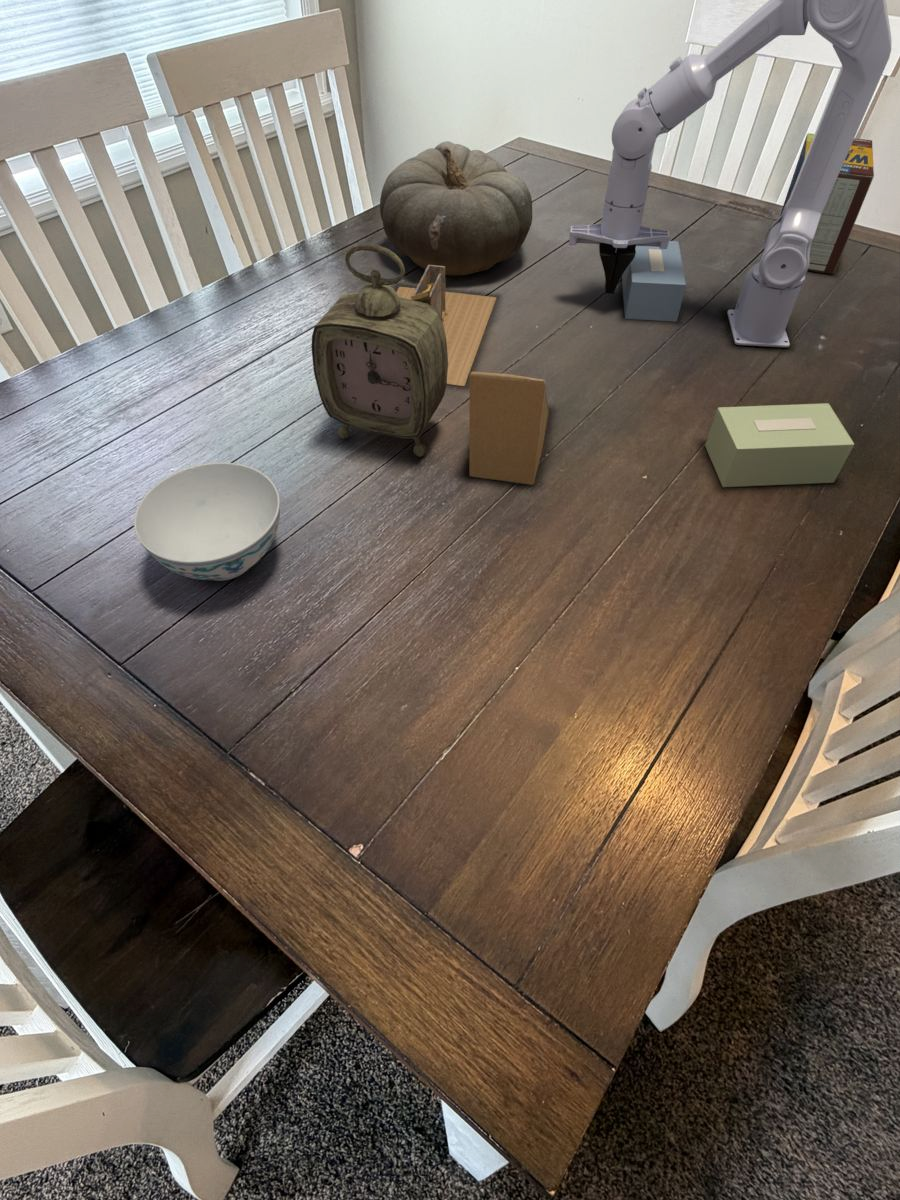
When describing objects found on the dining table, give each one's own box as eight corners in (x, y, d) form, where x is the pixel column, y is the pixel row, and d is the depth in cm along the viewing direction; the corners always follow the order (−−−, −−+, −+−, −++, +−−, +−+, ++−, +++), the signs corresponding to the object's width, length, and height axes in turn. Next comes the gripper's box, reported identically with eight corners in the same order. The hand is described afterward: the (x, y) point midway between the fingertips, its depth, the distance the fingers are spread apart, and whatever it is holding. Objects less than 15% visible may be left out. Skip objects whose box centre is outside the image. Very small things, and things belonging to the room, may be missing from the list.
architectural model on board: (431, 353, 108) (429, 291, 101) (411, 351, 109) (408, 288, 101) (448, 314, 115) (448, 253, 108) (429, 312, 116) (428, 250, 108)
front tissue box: (704, 445, 95) (717, 406, 90) (810, 441, 95) (829, 401, 90) (722, 487, 90) (737, 447, 85) (834, 482, 90) (855, 443, 85)
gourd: (441, 193, 137) (447, 93, 122) (551, 251, 131) (572, 154, 116) (355, 258, 127) (349, 157, 112) (470, 324, 121) (481, 228, 106)
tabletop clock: (325, 442, 95) (293, 251, 76) (354, 403, 101) (331, 215, 81) (428, 467, 92) (422, 274, 73) (453, 425, 98) (453, 235, 78)
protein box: (835, 235, 132) (873, 139, 120) (833, 275, 123) (875, 176, 110) (774, 227, 134) (806, 131, 122) (769, 266, 125) (803, 167, 113)
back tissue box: (621, 274, 123) (628, 237, 118) (669, 277, 122) (678, 240, 118) (624, 319, 114) (632, 280, 109) (676, 321, 114) (686, 283, 109)
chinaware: (228, 631, 76) (209, 584, 70) (128, 574, 81) (102, 525, 75) (318, 543, 84) (308, 493, 78) (222, 496, 89) (205, 445, 83)
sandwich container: (551, 411, 100) (563, 307, 88) (535, 485, 90) (547, 381, 78) (489, 403, 101) (493, 300, 89) (467, 476, 91) (469, 371, 80)
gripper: (574, 209, 103) (563, 301, 113) (679, 214, 101) (657, 306, 112) (574, 188, 107) (563, 278, 118) (674, 192, 106) (654, 283, 116)
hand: (609, 290), depth 115 cm, fingers closed
